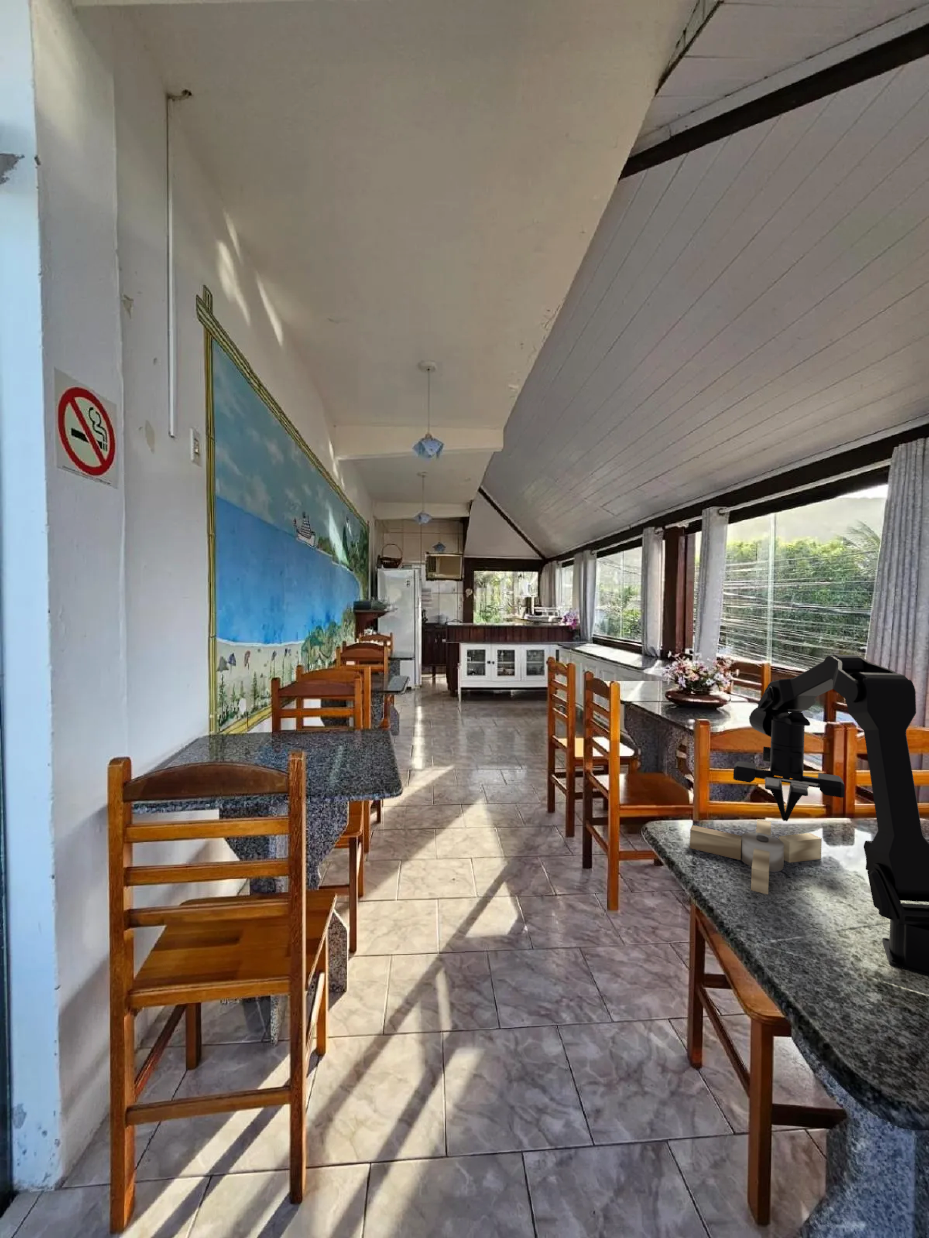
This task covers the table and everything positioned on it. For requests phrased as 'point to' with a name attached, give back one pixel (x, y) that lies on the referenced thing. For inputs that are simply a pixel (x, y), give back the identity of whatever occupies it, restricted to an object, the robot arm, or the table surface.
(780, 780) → the robot arm
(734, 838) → the stool base
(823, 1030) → the table surface
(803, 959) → the table surface
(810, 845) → the folding leg
